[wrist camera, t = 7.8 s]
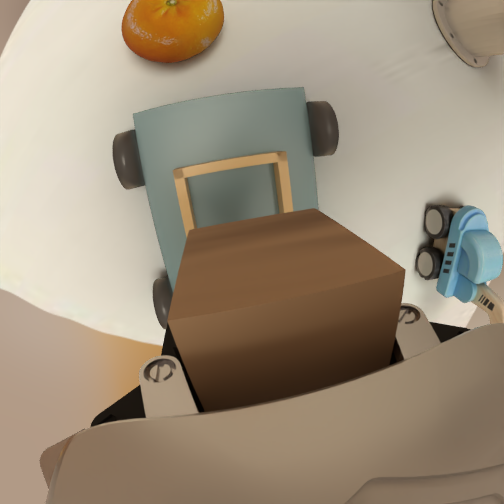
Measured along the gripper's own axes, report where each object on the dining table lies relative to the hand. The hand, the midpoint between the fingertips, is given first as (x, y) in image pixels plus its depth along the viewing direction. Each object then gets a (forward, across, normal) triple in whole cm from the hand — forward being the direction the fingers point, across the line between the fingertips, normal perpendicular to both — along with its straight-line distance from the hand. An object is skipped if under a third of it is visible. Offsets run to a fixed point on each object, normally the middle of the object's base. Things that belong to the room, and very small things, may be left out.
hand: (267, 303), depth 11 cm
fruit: (+17, +3, -19) cm, 26 cm away
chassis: (+16, 0, 0) cm, 16 cm away
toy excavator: (+17, -26, +10) cm, 33 cm away
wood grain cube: (+1, 0, 0) cm, 1 cm away
